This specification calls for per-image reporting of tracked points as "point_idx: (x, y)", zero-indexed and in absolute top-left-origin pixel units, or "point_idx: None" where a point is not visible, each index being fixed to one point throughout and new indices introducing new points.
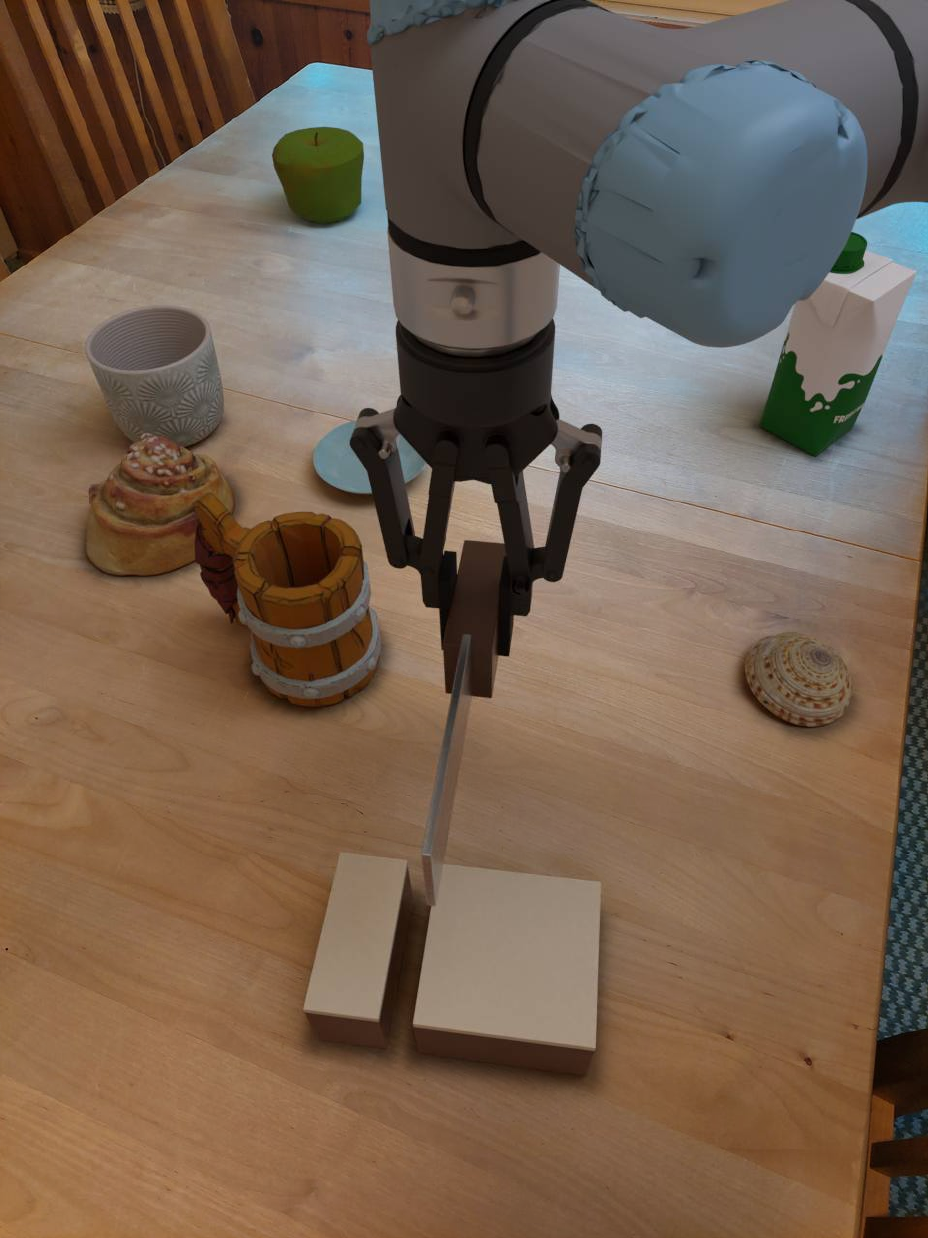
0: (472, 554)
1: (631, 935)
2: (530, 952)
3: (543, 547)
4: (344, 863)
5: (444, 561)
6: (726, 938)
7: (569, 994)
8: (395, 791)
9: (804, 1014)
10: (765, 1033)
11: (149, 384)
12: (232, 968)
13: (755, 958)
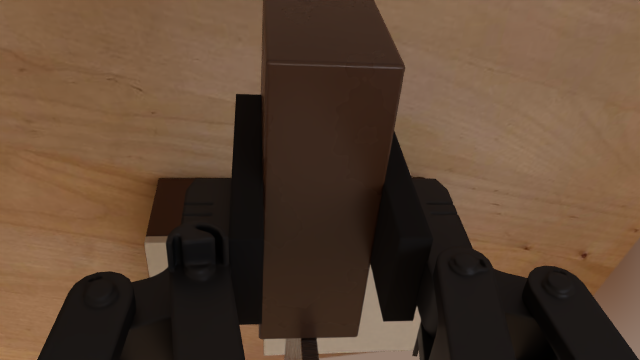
0: (297, 115)
1: (461, 186)
2: (368, 301)
3: (525, 321)
4: (154, 254)
5: (235, 271)
6: (555, 179)
7: (402, 323)
8: (176, 55)
9: (598, 227)
10: (558, 243)
11: None
12: (66, 253)
13: (575, 192)
